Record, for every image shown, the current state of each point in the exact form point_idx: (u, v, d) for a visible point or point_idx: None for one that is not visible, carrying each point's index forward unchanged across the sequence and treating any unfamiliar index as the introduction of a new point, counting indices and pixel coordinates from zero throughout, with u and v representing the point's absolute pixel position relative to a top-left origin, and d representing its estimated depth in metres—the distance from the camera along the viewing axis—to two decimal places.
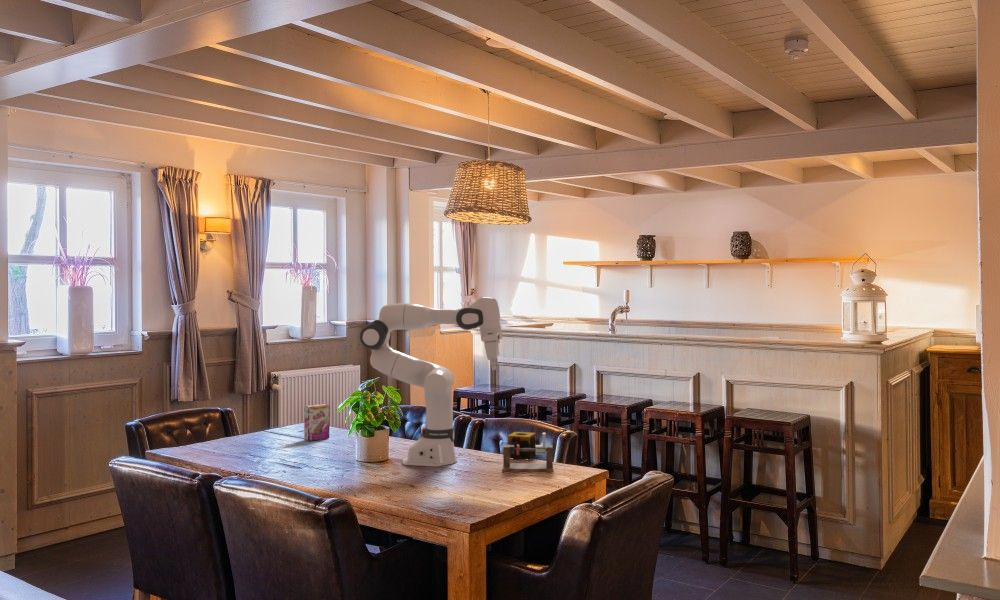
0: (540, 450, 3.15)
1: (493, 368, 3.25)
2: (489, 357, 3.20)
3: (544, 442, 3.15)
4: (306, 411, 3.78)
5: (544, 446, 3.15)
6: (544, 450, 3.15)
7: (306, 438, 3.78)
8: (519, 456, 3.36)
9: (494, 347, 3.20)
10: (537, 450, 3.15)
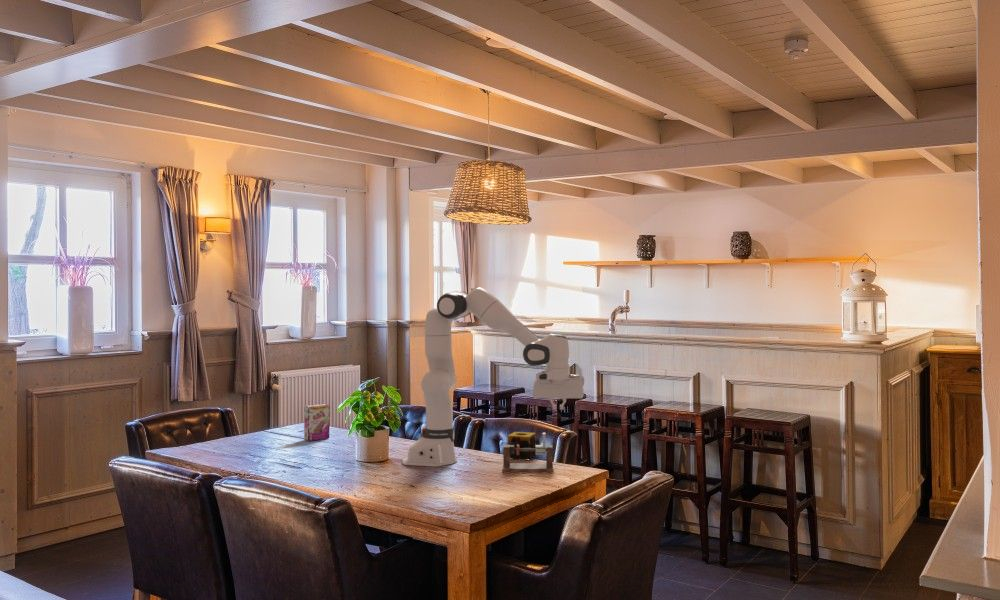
0: (540, 450, 3.15)
1: None
2: None
3: (544, 442, 3.15)
4: (306, 411, 3.78)
5: (544, 446, 3.15)
6: (544, 450, 3.15)
7: (306, 438, 3.78)
8: (519, 456, 3.36)
9: None
10: (537, 450, 3.15)
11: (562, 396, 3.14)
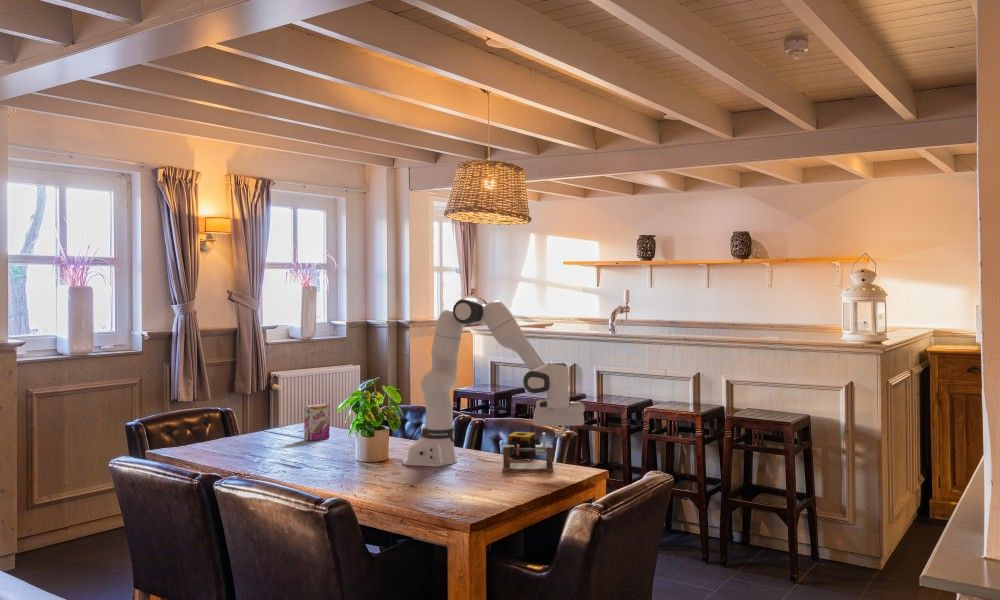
0: (540, 450, 3.15)
1: (555, 434, 3.16)
2: None
3: (544, 442, 3.15)
4: (306, 411, 3.78)
5: (544, 446, 3.15)
6: (544, 450, 3.15)
7: (306, 438, 3.78)
8: (519, 456, 3.36)
9: (534, 413, 3.15)
10: (537, 450, 3.15)
11: (563, 423, 3.14)
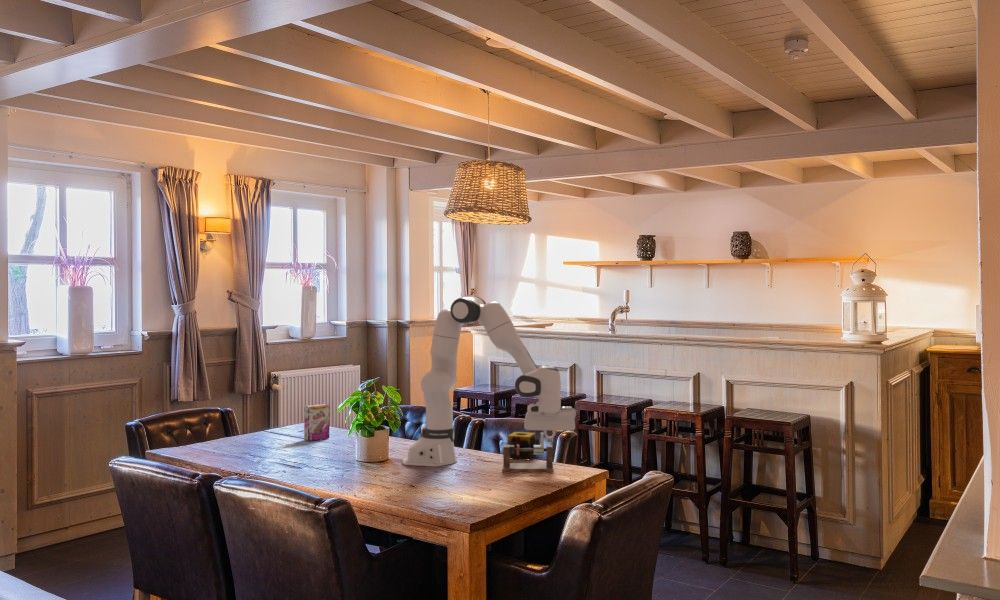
0: (538, 450, 3.15)
1: (546, 439, 3.17)
2: None
3: (542, 442, 3.15)
4: (306, 411, 3.78)
5: (542, 446, 3.15)
6: (542, 450, 3.15)
7: (306, 438, 3.78)
8: (519, 456, 3.36)
9: (525, 417, 3.15)
10: (535, 450, 3.15)
11: (554, 428, 3.15)
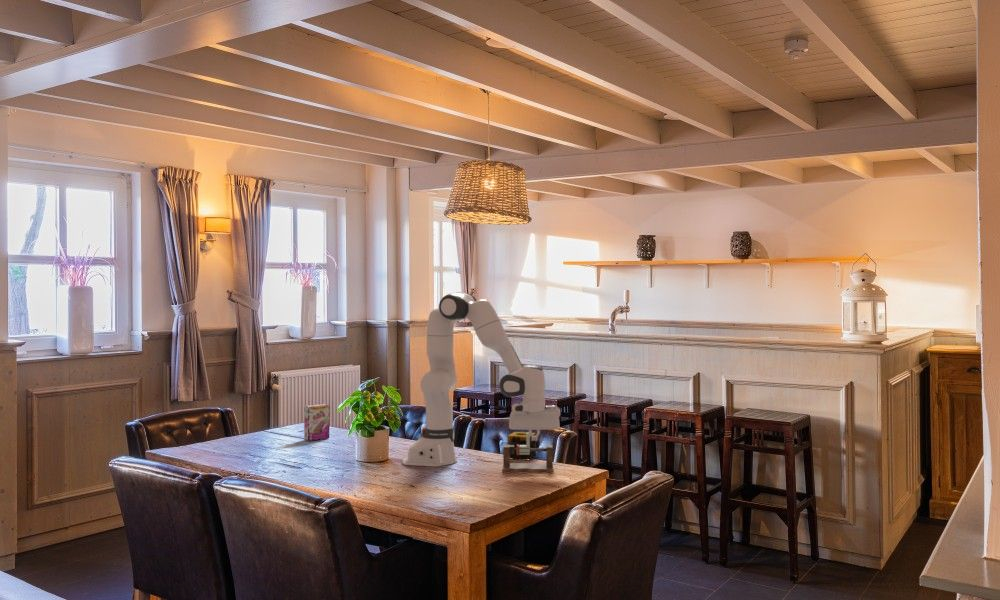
0: (524, 450, 3.15)
1: (531, 438, 3.17)
2: None
3: (528, 442, 3.15)
4: (306, 411, 3.78)
5: (528, 446, 3.15)
6: (528, 450, 3.15)
7: (306, 438, 3.78)
8: (519, 456, 3.36)
9: None
10: (521, 450, 3.16)
11: (538, 427, 3.15)
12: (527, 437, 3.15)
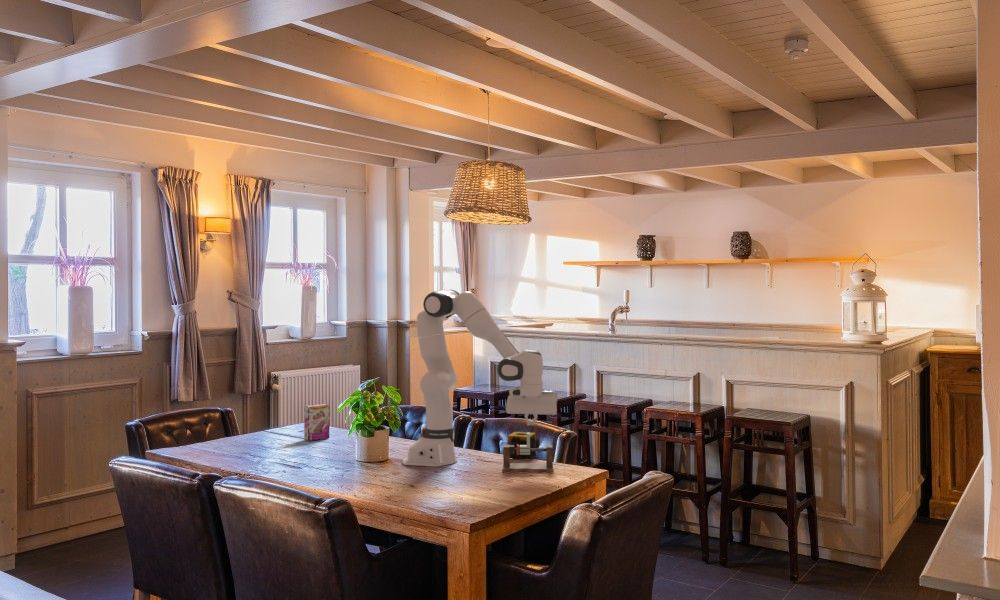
0: (524, 450, 3.15)
1: (527, 423, 3.17)
2: None
3: (528, 442, 3.15)
4: (306, 411, 3.78)
5: (528, 446, 3.15)
6: (528, 450, 3.15)
7: (306, 438, 3.78)
8: (519, 456, 3.36)
9: None
10: (521, 450, 3.16)
11: (535, 412, 3.15)
12: (527, 437, 3.15)
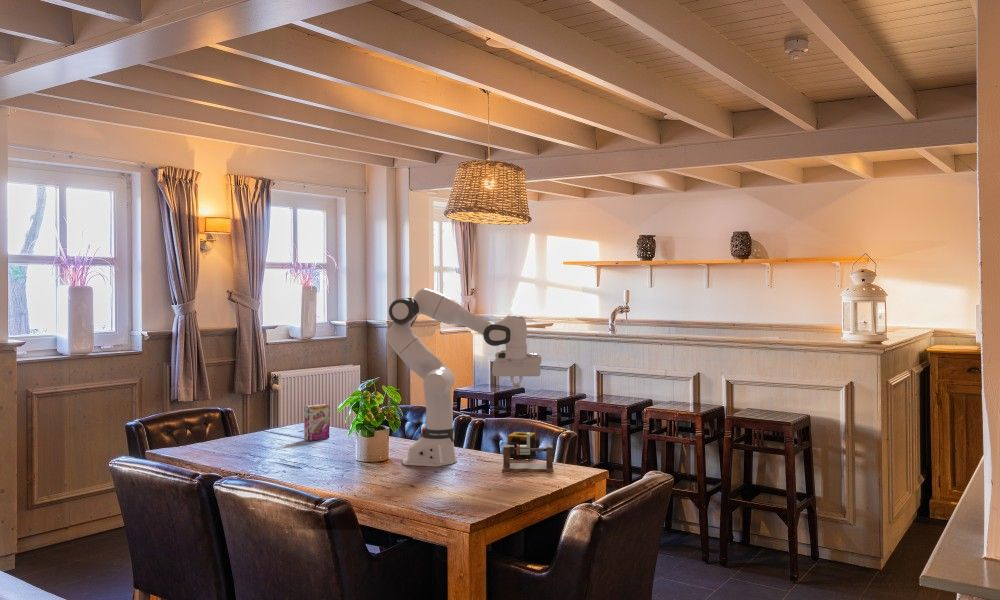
0: (524, 450, 3.15)
1: (513, 385, 3.32)
2: None
3: (528, 442, 3.15)
4: (306, 411, 3.78)
5: (528, 446, 3.15)
6: (528, 450, 3.15)
7: (306, 438, 3.78)
8: (519, 456, 3.36)
9: (493, 364, 3.31)
10: (521, 450, 3.16)
11: (520, 374, 3.30)
12: (527, 437, 3.15)
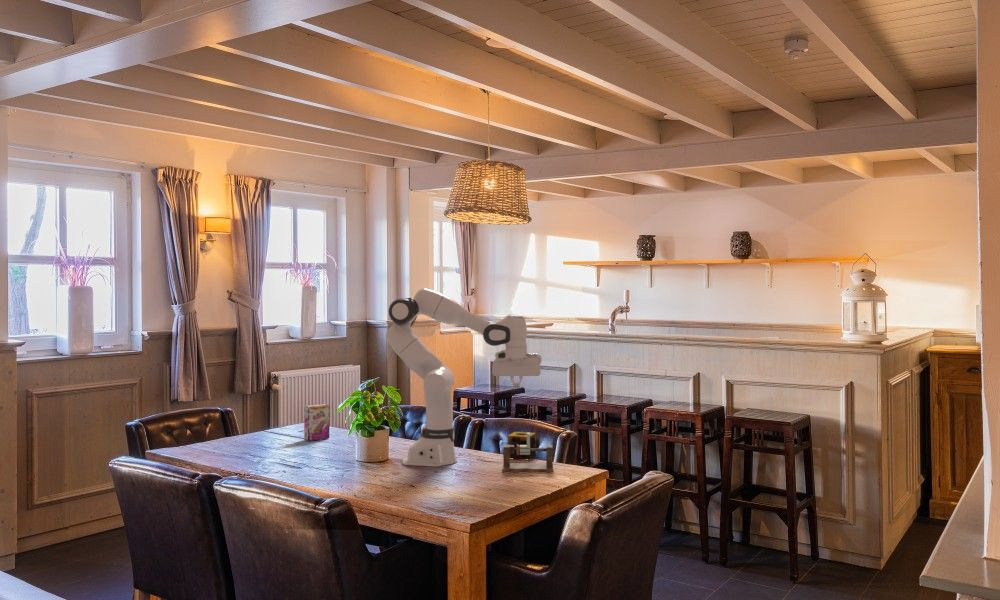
0: (524, 450, 3.15)
1: (513, 385, 3.32)
2: None
3: (528, 442, 3.15)
4: (306, 411, 3.78)
5: (528, 446, 3.15)
6: (528, 450, 3.15)
7: (306, 438, 3.78)
8: (519, 456, 3.36)
9: None
10: (521, 450, 3.16)
11: (520, 374, 3.30)
12: (527, 437, 3.15)
